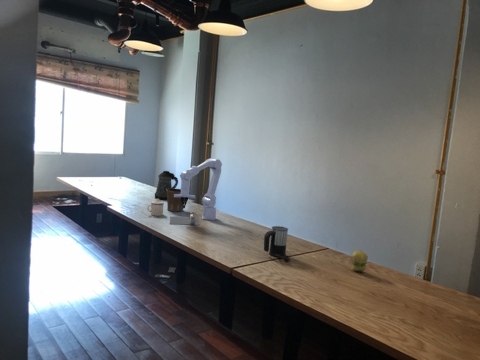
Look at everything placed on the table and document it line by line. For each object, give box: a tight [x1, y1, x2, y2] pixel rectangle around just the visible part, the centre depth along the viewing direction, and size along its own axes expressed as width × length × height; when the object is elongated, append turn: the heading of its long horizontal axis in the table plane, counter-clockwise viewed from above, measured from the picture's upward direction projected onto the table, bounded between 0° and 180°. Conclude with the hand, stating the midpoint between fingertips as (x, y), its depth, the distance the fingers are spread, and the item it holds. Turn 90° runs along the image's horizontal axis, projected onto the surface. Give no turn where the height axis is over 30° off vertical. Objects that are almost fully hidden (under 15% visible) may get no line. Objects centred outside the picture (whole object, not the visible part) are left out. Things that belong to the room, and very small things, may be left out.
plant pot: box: [166, 188, 185, 213], centre depth 297 cm, size 16×16×16 cm
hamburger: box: [350, 249, 369, 272], centre depth 188 cm, size 8×7×12 cm
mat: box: [169, 215, 201, 226], centre depth 266 cm, size 20×22×1 cm
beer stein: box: [154, 170, 179, 201], centre depth 344 cm, size 16×19×25 cm
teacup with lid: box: [147, 199, 165, 217], centre depth 277 cm, size 12×9×12 cm
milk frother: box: [263, 225, 291, 262], centre depth 202 cm, size 14×16×15 cm
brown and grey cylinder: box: [190, 215, 195, 226], centre depth 256 cm, size 3×3×6 cm
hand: (183, 207), depth 263 cm, fingers closed
